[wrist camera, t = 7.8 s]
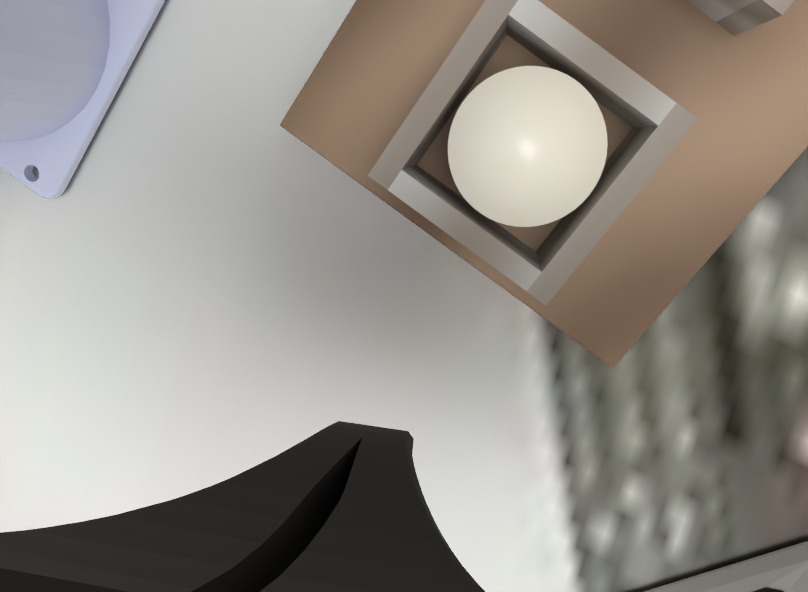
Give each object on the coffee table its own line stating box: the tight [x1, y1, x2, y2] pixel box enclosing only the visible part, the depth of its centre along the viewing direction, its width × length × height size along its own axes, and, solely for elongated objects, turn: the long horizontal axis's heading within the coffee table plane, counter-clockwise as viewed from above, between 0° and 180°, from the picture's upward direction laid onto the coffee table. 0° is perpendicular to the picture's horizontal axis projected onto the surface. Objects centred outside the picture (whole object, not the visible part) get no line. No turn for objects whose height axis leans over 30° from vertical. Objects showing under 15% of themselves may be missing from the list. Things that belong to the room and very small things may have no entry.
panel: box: [280, 0, 808, 368], centre depth 16 cm, size 12×15×4 cm
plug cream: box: [448, 66, 608, 227], centre depth 17 cm, size 4×4×3 cm
